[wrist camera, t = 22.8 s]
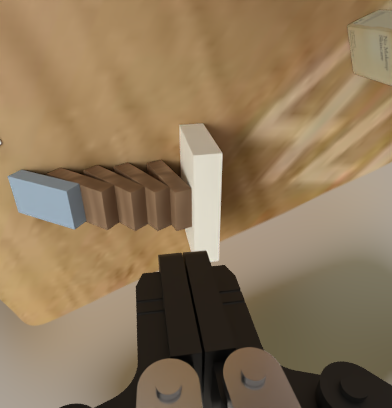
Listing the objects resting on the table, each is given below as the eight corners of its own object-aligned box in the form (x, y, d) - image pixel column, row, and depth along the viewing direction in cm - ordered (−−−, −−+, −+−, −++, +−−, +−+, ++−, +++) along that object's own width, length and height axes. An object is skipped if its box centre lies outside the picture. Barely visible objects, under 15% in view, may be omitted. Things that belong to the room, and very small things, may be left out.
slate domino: (18, 212, 44) (74, 229, 40) (7, 176, 41) (66, 191, 38) (31, 204, 45) (86, 220, 42) (21, 169, 43) (79, 183, 40)
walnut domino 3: (118, 201, 46) (157, 231, 40) (113, 166, 44) (154, 192, 38) (131, 196, 47) (171, 224, 41) (127, 162, 45) (169, 187, 39)
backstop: (182, 219, 51) (194, 263, 42) (179, 124, 44) (193, 155, 35) (202, 217, 51) (218, 260, 43) (203, 123, 44) (222, 153, 36)
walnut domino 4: (149, 196, 47) (176, 231, 40) (146, 162, 45) (175, 192, 38) (163, 193, 48) (192, 226, 41) (161, 159, 46) (191, 188, 39)
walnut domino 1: (55, 209, 45) (107, 230, 41) (46, 173, 42) (101, 192, 38) (67, 202, 46) (119, 222, 42) (60, 167, 44) (114, 184, 40)
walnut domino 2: (89, 205, 46) (135, 231, 40) (83, 170, 43) (130, 193, 38) (102, 199, 47) (148, 223, 42) (97, 164, 44) (144, 186, 39)
